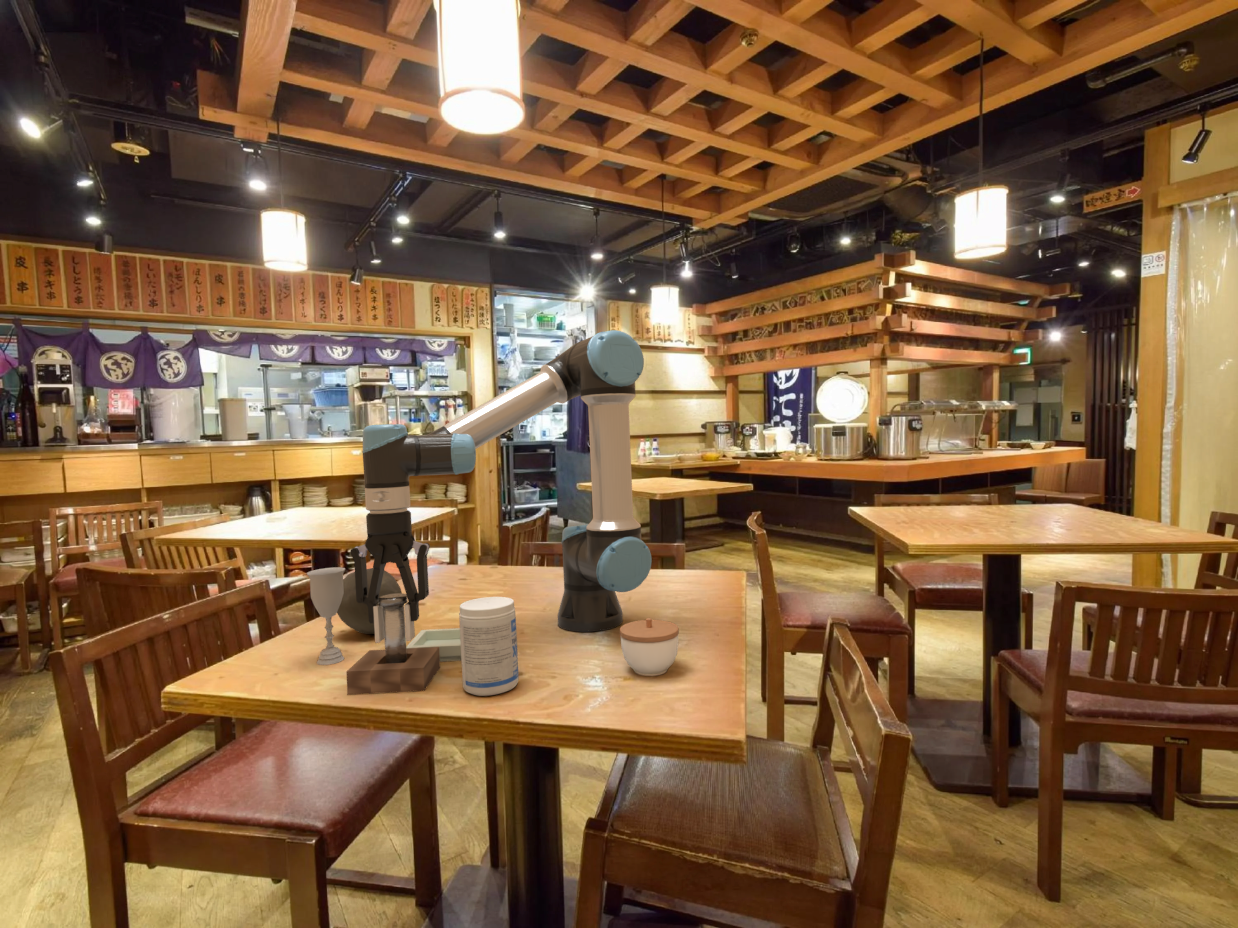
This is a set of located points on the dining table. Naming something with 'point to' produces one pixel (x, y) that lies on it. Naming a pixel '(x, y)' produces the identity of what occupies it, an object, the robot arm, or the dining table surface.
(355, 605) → the dark grey ball
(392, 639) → the metal pin
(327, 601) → the chalice
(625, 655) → the lidded jar
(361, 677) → the block
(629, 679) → the dining table surface
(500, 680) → the supplement tub
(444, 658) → the tray
